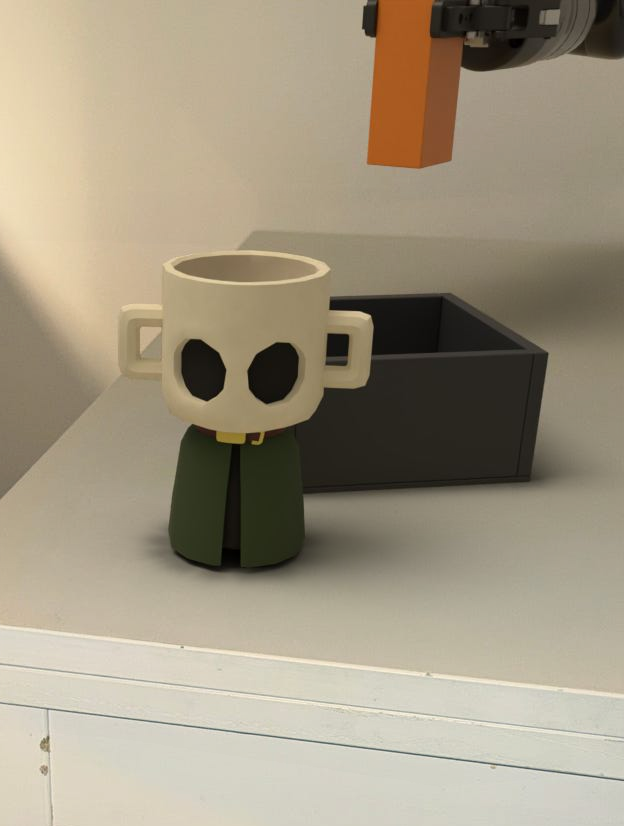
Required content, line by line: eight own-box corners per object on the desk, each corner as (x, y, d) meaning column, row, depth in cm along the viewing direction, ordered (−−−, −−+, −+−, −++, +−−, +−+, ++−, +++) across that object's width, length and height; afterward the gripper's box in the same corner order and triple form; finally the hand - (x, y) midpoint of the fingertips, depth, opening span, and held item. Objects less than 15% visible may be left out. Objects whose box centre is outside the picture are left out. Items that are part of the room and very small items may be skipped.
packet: (399, 157, 92) (413, -17, 87) (451, 161, 90) (469, -17, 85) (366, 164, 89) (379, -17, 84) (420, 169, 87) (436, -17, 82)
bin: (438, 409, 80) (451, 292, 77) (529, 486, 68) (549, 352, 65) (221, 418, 78) (224, 299, 75) (276, 500, 66) (283, 362, 63)
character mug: (106, 576, 58) (103, 279, 52) (130, 516, 64) (129, 245, 58) (354, 591, 57) (380, 288, 51) (354, 528, 63) (376, 252, 57)
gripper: (423, -44, 98) (308, -47, 85) (612, -46, 90) (516, -49, 78) (414, 65, 101) (302, 77, 89) (595, 72, 94) (501, 87, 81)
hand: (403, 18), depth 83 cm, fingers closed on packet, 4 cm apart
